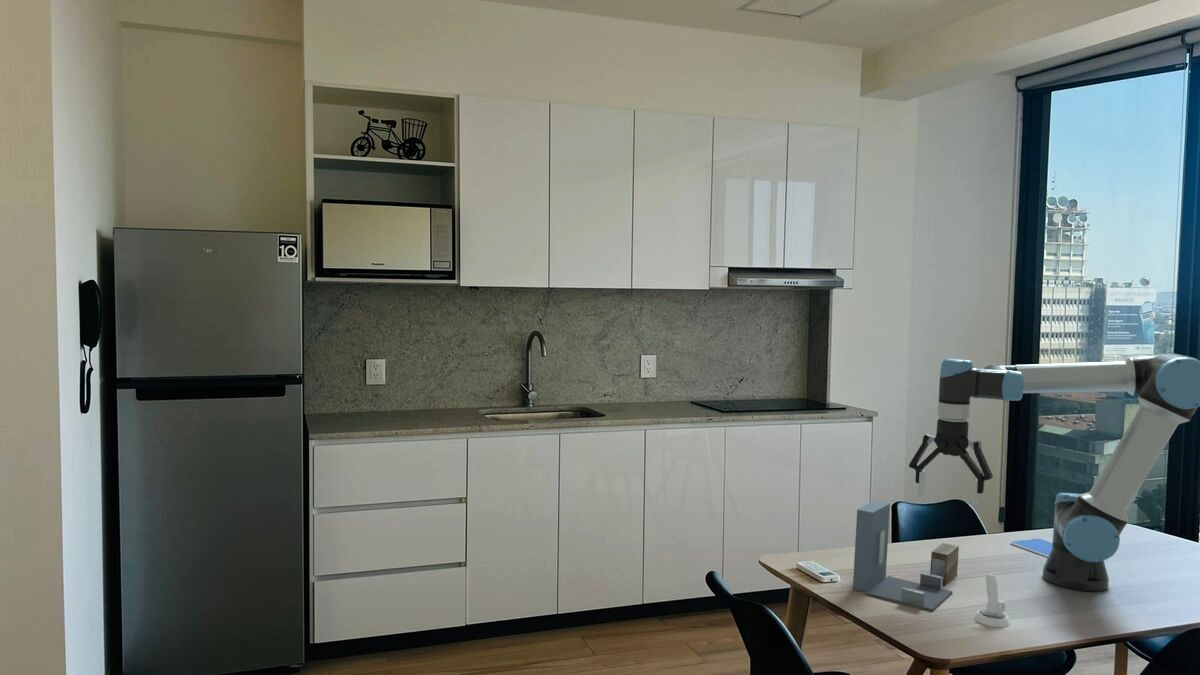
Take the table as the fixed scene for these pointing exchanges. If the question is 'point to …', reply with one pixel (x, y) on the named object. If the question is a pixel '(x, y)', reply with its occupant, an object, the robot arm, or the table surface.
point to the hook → (992, 606)
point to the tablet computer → (1035, 546)
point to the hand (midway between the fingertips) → (947, 500)
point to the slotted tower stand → (874, 561)
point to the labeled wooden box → (945, 562)
